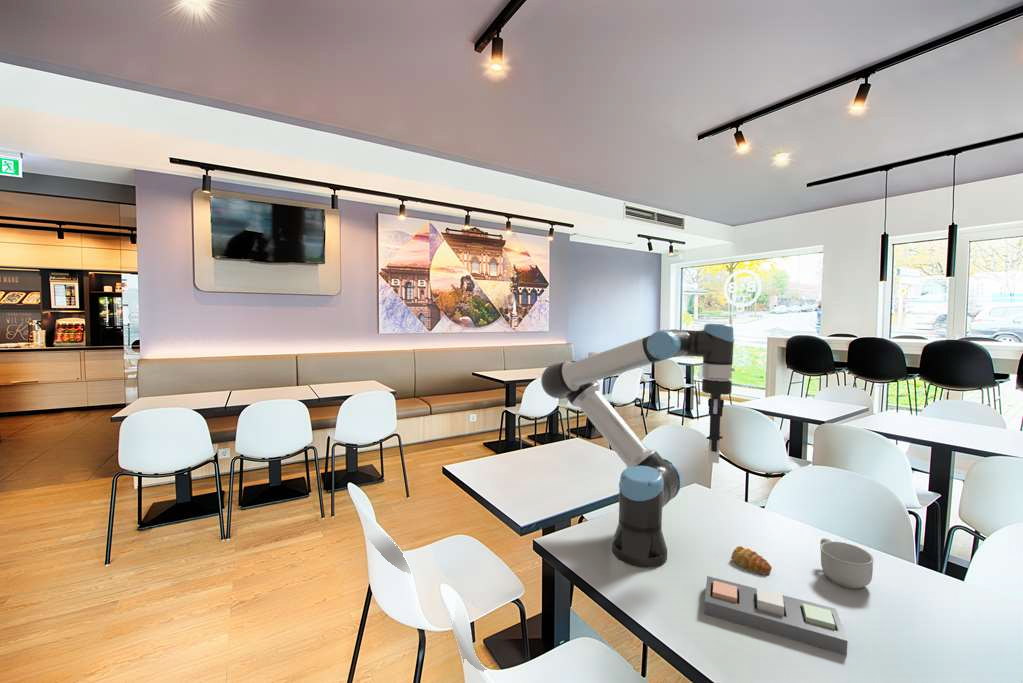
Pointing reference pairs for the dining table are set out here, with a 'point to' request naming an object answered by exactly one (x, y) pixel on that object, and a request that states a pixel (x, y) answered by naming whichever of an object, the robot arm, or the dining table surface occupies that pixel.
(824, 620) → the sage key
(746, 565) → the pastry
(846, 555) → the teacup
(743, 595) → the keypad
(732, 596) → the terracotta key
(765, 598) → the cream key
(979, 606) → the dining table surface
